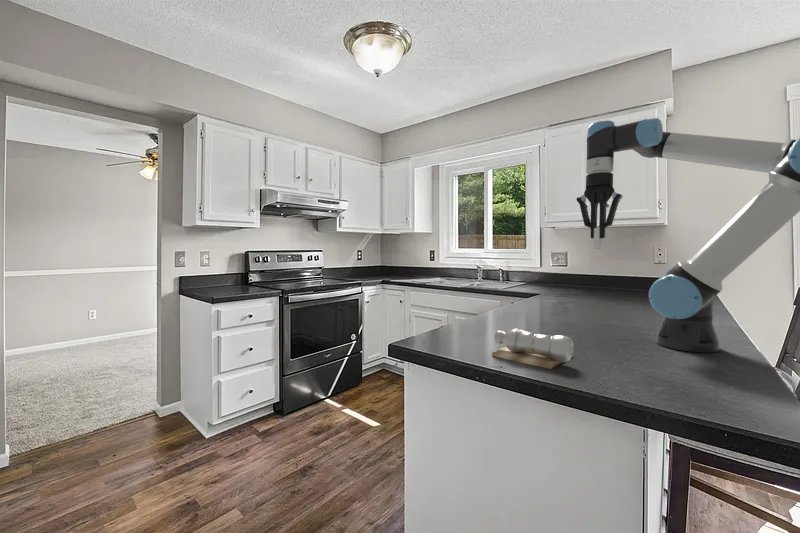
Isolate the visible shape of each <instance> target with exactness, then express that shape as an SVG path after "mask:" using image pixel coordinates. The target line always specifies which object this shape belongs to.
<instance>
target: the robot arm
mask: <svg viewBox="0 0 800 533" xmlns="http://www.w3.org/2000/svg"><path fill="white" fill-rule="evenodd" d="M663 128H664V127H663V124H662V120H661V119H659V118H658V117H654V118H646V119H645V118H644V119H642V120H637V121H634V122H630V123H629V122H628V123H625V124H621V125H615V122H614V121H612V120H599V121H596V122H592V123H591V124H590V125H589V126H588V128H587V134H586V135H587V136H586V166H585V167H586V168H585V169H586V170H585V172H586V176H585V190H584V192H583V194H582V195H581V196H580V197H579V196H577V197H576V202H577V203H578V204H579V206H580V207H579V208H580V212H581V216H582V220H583V225H584V227H587V228H589V229H590V239H593V250H602V240H603V239H605V238H606V229H607V227H611V226H613V223H614V219H615V216H616V213H617V209H618V206H619V203H620V201H621V200H622V199H623V194H620V193H618V192H616V191H615V188H614V174H613V172H614V157H615V155H614V154H615V153H618V152H619V153H620V152H623V151H629V150H630V151H631V150H632V151H635V152H636V153H638V154H639V155H640V156H642V157H645V158H648V159H649V158H650V159H654V158H659V159H669V160H675V161H682V162H690V163H695V164H697V163H698V164H704V165H711V166H716V167H717V166H718V167H724V168H731V169H739V170H747V171H754V172H761V173H768V183H767V184H765V186H764V187H762V188H761V190H759V191H758V192H757V193H756V195H754V196H753V197H752V198H751V199H750V200H749V201H748V202H747V203H746V204H745V205H744V206H743V207H742V208H741V209H740V210H739V211H738V212H737V213H736V214H735V215H734V216H732V218H731V219H730V220H729V221H728V222H727V223H726V224H724V226H722V228H721V229H720V230H719V231H718V232H717V233H715V235H714V236H713V237H711V239H709V240H708V242H707V241H706V243H705V245H703V246H702V247H701V248H700V249H698V251H697V252H696V253H695V254H694V255H693V256H692V257H690V259H688V260H681V261H678V262H677V263H676V264H675V265H673V267H672V268H670V269H666V271H665V274H664V275H663V276H661V277H659V278H658V279H656V280H655V281H654V282H653V283H652V285H651V286H650V288H649V291H648V300H649V303H650V305H651V307H652V308H653V310H655V312H657V313H658V314H659V315H661V316H663V319H662V322H661V323H660V326H659V329H658V331H657V333H656V335H655V343H656V344H658V345H660V346H661V347H665V348H669V349H672V350H673V349H674V350H678V351H683V352H693V353H704V354H705V353H717V352H719V351H720V341H719V338H718V334H717V332H716V330H715V327H714V324H713V319H714V317H713V316H714V298H715V297H716V296H717V295H718V294H719V293H721V292H722V291H723V281H724V280H725V279H726V278H727V277H728V276H729V275H731V273H733V272H734V271H735V269H737V268H738V267H739V266H740V265H742V264H743V263H744V262H745V261H746V260H747V259H748V258H749V257H751V256H752V255H753V254H754V253H755V252H756V251H757V250H758V249H759V248H761V247H762V246H763V245H764V244H765V243H767V241H768V240H770V239H771V238H772V237H773V236H774V235H775V234H776V233H777V232H778V231H779V230H780V229H782V228H783V227H784V226H785V225H787V223H789V222H790V221H791V220H792V219H793V218H794V217H795V216H797V214H798V213H800V136H799V137H798V138H797V139H790V140H787V141H785V142H776V141H764V140H754V139H745V138H733V137H722V136H714V135H713V136H712V135H710V136H709V135H701V134H691V133H680V132H679V133H678V132H668V131H663ZM610 199H612V202H611V203H610V207H609V211H608V214H607V206H608V201H609V200H610ZM587 201H589V203H590V216H589V211H588V206H587V203H586V202H587ZM598 207H599V218H598ZM598 219H599V221H598ZM598 222H599V223H598ZM598 224H599V225H598Z"/></svg>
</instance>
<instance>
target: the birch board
mask: <svg viewBox="0 0 800 533" xmlns="http://www.w3.org/2000/svg"><path fill="white" fill-rule="evenodd" d="M491 353H492V354H491V356H492V357H495V358H500V359H503V360H509V361H513V362H518V363H522V364H527V365H531V366H534V367H540V368H544V369H548V370H551V369H553V368H555V367H557V366H558V365H560V364H562V363H563V362H559V361H556V360H553V359H551V358H548V357H544V356H541V355H536V354H529V353H515V352H512V351H510V350H509V349H508V348H507V347H506V346H505V345H504V346H503V347H500V348H498V349H496V350H492V352H491Z"/></svg>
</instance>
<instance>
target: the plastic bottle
mask: <svg viewBox="0 0 800 533" xmlns="http://www.w3.org/2000/svg"><path fill="white" fill-rule="evenodd" d="M494 342H495V344H499V345H501V346H504V347H505V346H506V347H507V348H508V349H509V350H510V351H512V352H515V353H529V354H536V355H541V356H544V357H548V358H551V359H553V360H556V361H559V362H562V363H567V362H569V361H571V359H572V358H573V353H574V341H573V340H572V338H571V337H570V336H569V337H568V336H566V335H563V334H562V335H559V334H557V335H552V334H551V335H550V334H539V333H534V332H530V331H527V330H524V329H520V328H513V329H510V330H507V332H506V331H505V330H497V331H496V332H495V334H494Z"/></svg>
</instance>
